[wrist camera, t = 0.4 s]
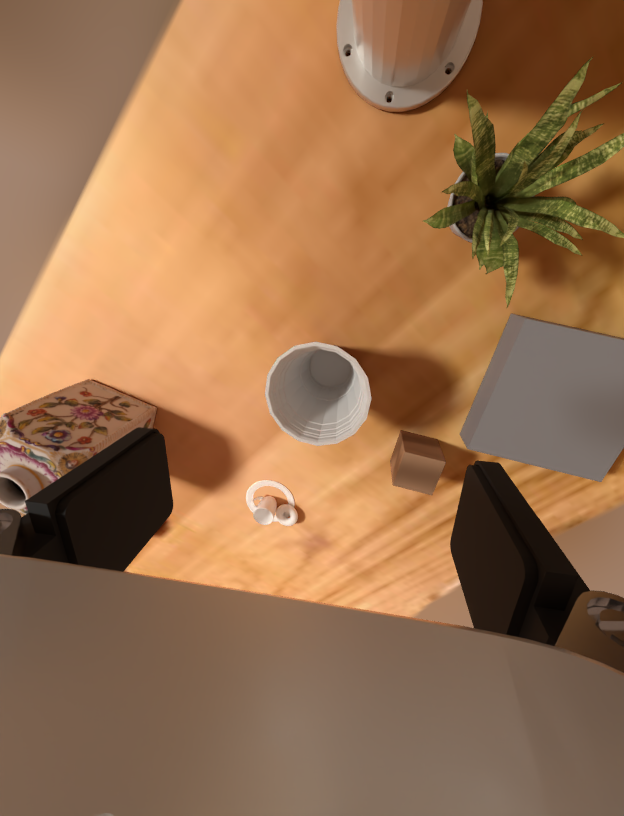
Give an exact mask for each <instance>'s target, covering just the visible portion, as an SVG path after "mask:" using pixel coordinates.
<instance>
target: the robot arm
mask: <svg viewBox="0 0 624 816" xmlns="http://www.w3.org/2000/svg"><path fill="white" fill-rule="evenodd" d="M482 6H483V0H340V3H339V8H338V17H337V43H338V50H339V56H340V60H341V63H342V67H343V71H344V73H345V75H346V77H347V79H348V81H349V83H350V85H351V86H352V87H353V89H354V90H355V92H356V93H357V94H358V95H359V96H360V97H361V98H362V99H363V100H365V101H366V102H367V103H368V104H370V105H372V106H374V107H376V108H378V109H381V110H385V111H389V112H403V111H408V110H412V109H416V108H418V107H420V106H422V105H424V104H427V103H428V102H430V101H431V100H433V99H434V98H435V97H437V96H438V95H440V94H441V93H442V92H443V91H444V90H445V89H446V88H447V87H448V86H449V85H450V84H451V82H452V81H453V80H454V78H455V77H456V76H457V74H458V73H459V72H460V70H461V68H462V67H463V65H464V63H465V61H466V59H467V57H468V55H469V53H470V51H471V48H472V46H473V44H474V42H475V39H476V35H477V32H478V28H479V25H480V20H481V13H482ZM347 53H350V54H351V55H350V56H347V57H346V54H347ZM447 70H449V71H450V75H447V74H446V73H445V72H446V71H447ZM388 98H391V99H392V101H391V102H390V103H388V102H387V99H388ZM25 504H26V507H27V510H28V513H27V514H26V515H24V516H23V517H21V515H20V513H19V512H18V511H16V510H13V509H0V816H624V598H623V597H620V596H618V595H615V594H611V593H608V592H604V591H590V590H589V588H588V587H587V586H586V584H585V583H584V581H583V580H582V579H581V577H580V576H579V574H578V573H577V572H576V570H575V569H574V567H573V566H572V564H571V563H570V561H569V560H568V559H567V557H566V556H565V554H564V553H563V552H562V550H561V549H560V548H559V546H558V545H557V543H556V542H555V541H554V539H553V538H552V536H551V535H550V533H549V532H548V530H547V529H546V528H545V526H544V525H543V523H542V522H541V521H540V519H539V518H538V517H537V516H536V514H535V513H534V511H533V510H532V508H531V507H530V506H529V504H528V503H527V501H526V500H525V499H524V497H523V496H522V494H521V493H520V491H519V490H518V489H517V487H516V486H515V484H514V483H513V482H512V480H511V479H510V477H509V476H508V475H507V473H506V472H505V470H504V469H503V467H502V466H501V465H500V464H499V463H495V462H485V461H476V462H475V464H474V465H469V466H468V467H467V470H466V474H465V479H464V483H463V488H462V492H461V497H460V501H459V505H458V510H457V514H456V519H455V523H454V528H453V532H452V536H451V543H450V546H451V553H452V557H453V560H454V563H455V567H456V570H457V573H458V576H459V580H460V583H461V586H462V590H463V593H464V596H465V599H466V603H467V606H468V609H469V613H470V616H471V619H472V623H473V626H474V628H470V627H465V626H460V625H453V624H447V623H441V622H435V621H429V620H423V619H417V618H411V617H405V616H399V615H393V614H387V613H381V612H375V611H368V610H362V609H356V608H350V607H344V606H338V605H332V604H326V603H320V602H314V601H307V600H301V599H295V598H289V597H283V596H276V595H270V594H264V593H257V592H251V591H245V590H239V589H232V588H226V587H220V586H213V585H207V584H200V583H194V582H188V581H181V580H175V579H168V578H162V577H155V576H149V575H142V574H135V573H129V572H123V571H124V570H125V569H126V568H127V567H128V565H129V564H130V563H131V562H132V561H133V559H134V558H135V557H136V556H137V554H138V553H139V552H140V551H141V550H142V548H143V547H144V546H145V545H146V544H147V542H148V541H149V540H150V539H151V538H152V536H153V535H154V534H155V533H156V532H157V530H158V529H159V528H160V527H161V525H162V524H163V523H164V522H165V521H166V519H167V518H168V517H169V516H170V514H171V512H172V509H173V498H172V491H171V484H170V476H169V469H168V462H167V455H166V447H165V440H164V436H163V435H162V434H160V433H159V431H158V430H157V429H152V428H141V427H138V428H135V429H134V430H132V431H131V432H129V433H128V434H126V435H125V436H123V437H122V438H120V439H119V440H117V441H116V442H114V443H113V444H111V445H110V446H108V447H106V448H105V449H103V450H102V451H100V452H99V453H97V454H96V455H94V456H93V457H91V458H90V459H88V460H87V461H85V462H84V463H82V464H81V465H79V466H77V467H76V468H74V469H73V470H71V471H70V472H68V473H67V474H65V475H64V476H62V477H61V478H59V479H58V480H56V481H55V482H53V483H52V484H50V485H48V486H47V487H45V488H44V489H42V490H41V491H39V492H38V493H36V494H35V495H33V496H32V497H30V498H29V499H27V500H26V501H25Z"/></svg>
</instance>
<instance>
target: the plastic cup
mask: <svg viewBox="0 0 624 816" xmlns="http://www.w3.org/2000/svg"><path fill="white" fill-rule="evenodd" d="M265 396H266V400H267V404H268V407H269V411H270V414H271V415H272V417H273V418H274V420H275V421H276V422H277V424H278V425H279V426H280V428H281V429H282V430H283V431H284V432H286V433H287V434H289V435H290V436H292V437H293V438H295V439H296V440H298V441H301V442H305V443H309V444H313V445H317V446H320V445H329V444H337V443H339V442H341V441H343V440H345V439H346V438H348V437H350V436H352V435H354V434H355V433H356V431H357V430H358V429H359V428H360V426H361V425H362V424H363V422H364V421H365V420H366V419H367V415H368V411H369V407H370V403H371V399H372V398H371V393H370V387H369V382H368V377H367V376H366V374H365V373H364V371H363V369H362V368H361V366H360V365H359V363H358V362H357V360H356V359H355V358H353V357H352V356H351V355H349V354H348V353H347V352H346V351H344V350H343V349H341V348H340V347H337V346H333V345H328V344H324V343H319V342H312V343H307V344H302V345H297V346H294V347H292V348H291V349H289V350H288V351H287V352H285V353H284V354H282V355H281V356H279V357H278V358H277V360H276V361H275V363H274V365H273V366H272V368H271V370H270V372H269V373H268V375H267V383H266V391H265Z"/></svg>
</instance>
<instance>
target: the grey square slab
mask: <svg viewBox="0 0 624 816" xmlns="http://www.w3.org/2000/svg"><path fill="white" fill-rule="evenodd" d="M460 436H461V438H462V440H463V441H464V443H465V445H466V447H467V449H470V450H474V451H478V452H482V453H486V454H490V455H494V456H498V457H502V458H506V459H510V460H514V461H518V462H522V463H526V464H530V465H534V466H538V467H542V468H546V469H550V470H554V471H558V472H562V473H567V474H571V475H575V476H579V477H583V478H587V479H591V480H595V481H599V482H601V481H602V480H603V478H604V477H605V475H606V474H607V472H608V471H609V469H610V468H611V466H612V465H613V463H614V462H615V460H616V459H617V457H618V456H619V454H620V453H621V451H622V450H623V448H624V338H620V337H615V336H611V335H606V334H602V333H597V332H593V331H588V330H583V329H579V328H574V327H570V326H565V325H561V324H556V323H552V322H547V321H543V320H538V319H534V318H529V317H525V316H520V315H516V314H511V315H510V317H509V320H508V322H507V324H506V327H505V329H504V332H503V334H502V336H501V339H500V341H499V343H498V346H497V348H496V350H495V353H494V355H493V357H492V360H491V362H490V364H489V367H488V369H487V371H486V374H485V376H484V378H483V381H482V383H481V386H480V388H479V390H478V393H477V395H476V397H475V400H474V402H473V404H472V407H471V409H470V411H469V414H468V416H467V418H466V421H465V423H464V425H463V428H462V430H461V432H460Z"/></svg>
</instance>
